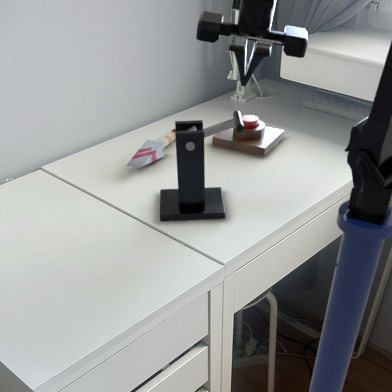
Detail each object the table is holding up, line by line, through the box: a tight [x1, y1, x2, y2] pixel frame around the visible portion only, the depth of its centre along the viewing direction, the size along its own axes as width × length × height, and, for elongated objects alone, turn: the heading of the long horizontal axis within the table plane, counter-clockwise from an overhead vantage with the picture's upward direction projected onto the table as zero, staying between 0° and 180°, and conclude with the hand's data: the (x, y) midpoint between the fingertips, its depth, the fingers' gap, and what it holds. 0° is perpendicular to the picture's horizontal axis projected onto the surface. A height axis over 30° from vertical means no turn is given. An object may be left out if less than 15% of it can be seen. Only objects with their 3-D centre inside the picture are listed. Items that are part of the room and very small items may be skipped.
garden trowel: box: [125, 127, 176, 169], centre depth 103 cm, size 4×3×20 cm
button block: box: [211, 119, 285, 157], centre depth 106 cm, size 12×10×4 cm
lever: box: [181, 110, 244, 139], centre depth 79 cm, size 10×6×2 cm, turn 92°
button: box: [241, 114, 259, 129], centre depth 104 cm, size 4×4×2 cm
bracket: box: [159, 119, 226, 222], centre depth 83 cm, size 11×9×14 cm
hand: (243, 85), depth 93 cm, fingers closed
